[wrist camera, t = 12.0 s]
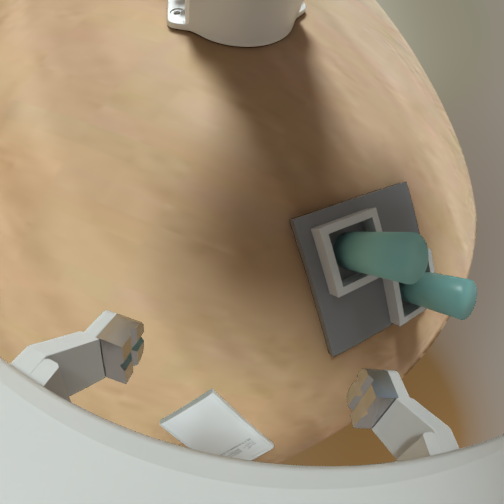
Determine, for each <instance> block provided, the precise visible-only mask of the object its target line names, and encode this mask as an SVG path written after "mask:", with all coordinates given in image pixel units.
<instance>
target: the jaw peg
mask: <svg viewBox="0 0 504 504" xmlns="http://www.w3.org/2000/svg"><path fill="white" fill-rule="evenodd" d="M333 251H334V255H335V258H336V262H337V264H338V265H339V266H340V267H342V268H344V269H348V270H352V271H356V272H360V273H364V274H368V275H372V276H376V277H380V278H384V279H388V280H392V281H396V282H400V283H404V284H409V285H410V284H414V283H416V282H418V281H419V280H420V279H421V278H422V276H423V275H424V273H425V271H426V268H427V265H428V258H429V254H428V247H427V244H426V242H425V240H424V239H423V237H422V236H421V235H420V234H418V233H415V232H344V233H342V234H340V235H339V236H338V237H337V239H336V240H335V242H334V245H333Z"/></svg>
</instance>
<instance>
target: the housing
mask: <svg viewBox="0 0 504 504" xmlns="http://www.w3.org/2000/svg"><path fill="white" fill-rule="evenodd" d="M290 224H291V227H292V230H293V233H294V236H295V239H296V242H297V245H298V248H299V251H300V255H301V258H302V261H303V264H304V267H305V271H306V274H307V277H308V281H309V284H310V287H311V291H312V294H313V297H314V301H315V304H316V308H317V311H318V315H319V318H320V322H321V325H322V329H323V333H324V336H325V340H326V344H327V347H328V351H329V353H330V354H331V355H332V356H333V357H334V356H336V355H338V354H340V353H342V352H344V351H346V350H348V349H350V348H351V347H353V346H355V345H357V344H359V343H361V342H363V341H364V340H366V339H368V338H370V337H371V336H373V335H375V334H377V333H378V332H380V331H382V330H383V329H385V328H387V327H388V326H390V325H392V324H393V323H394V324H396V325H398V326H402V325H403V324H405V323H406V322H408V321H409V320H411V319H412V318H414V317H415V316H417V315H418V314H420V313H421V312H423V311H424V310H426V309H430V310H433V311H436V312H439V313H443V314H446V315H449V316H452V317H455V318H458V319H461V320H464V319H466V318H467V317H468V316H469V315H470V314H471V312H472V311H473V309H474V306H475V303H476V297H477V289H476V285H475V282H474V281H473V280H470V279H464V278H459V277H454V276H448V275H443V274H437V273H435V272H434V265H433V259H432V253H431V249H429V248H428V254H429V258H428V265H427V268H426V271H425V273H424V275H423V276H422V278H421V279H420V280H419V281H418V282H416V283H414V284H410V285H409V284H404V283H400V282H396V281H392V280H388V279H384V278H380V277H376V276H372V275H368V274H364V273H360V272H356V271H352V270H348V269H344V268H342V267H340V266H339V265H338V264H337V262H336V258H335V255H334V251H333V245H334V242H335V240H336V239H337V237H338V236H339V235H340V234H342V233H344V232H415V233H418V234H420V233H419V229H418V224H417V220H416V216H415V212H414V208H413V204H412V200H411V196H410V193H409V189H408V186H407V182H402V183H398V184H395V185H392V186H389V187H386V188H383V189H380V190H377V191H374V192H371V193H368V194H365V195H362V196H359V197H356V198H353V199H350V200H347V201H344V202H341V203H338V204H335V205H332V206H329V207H326V208H323V209H320V210H317V211H314V212H311V213H308V214H305V215H302V216H299V217H297V218H294V219H291V220H290Z"/></svg>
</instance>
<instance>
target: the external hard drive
mask: <svg viewBox="0 0 504 504" xmlns="http://www.w3.org/2000/svg"><path fill="white" fill-rule="evenodd" d="M160 425H161V426H162V427H163V428H164V429H165V430H167V431H168V432H169V433H170V434H172V435H173V436H174V437H175V438H177V439H178V440H179V441H180V442H182V443H183V444H184V445H186V446H187V447H188V448H191V449H195V450H199V451H203V452H207V453H212V454H217V455H221V456H227V457H232V458H238V459H244V460H251V461H252V460H254V459H256V458H257V457H259V456H261V455H263V454H264V453H266V452H268V451H270V450H271V449H272V448H273V447H274V444H273V442H271V441H270V440H269V439H268V438H267V437H265V436H264V435H263V434H262V433H261V432H260V431H258V430H257V429H256V428H255V427H254V426H253V425H251V424H250V423H249V422H248V421H247V420H246V419H245V418H243V417H242V416H241V415H240V414H239V413H238V412H237V411H236V410H235V409H234V408H233V407H232V406H230V405H229V404H228V403H227V402H226V401H225V400H224V399H223V398H222V397H221V396H220V395H219V394H218V393H217V392H216V391H215V390H214V389H213V388H212V389H211V390H209V391H207V392H206V393H204V394H203V395H201V396H200V397H198V398H197V399H195V400H193V401H192V402H190V403H189V404H187V405H185V406H184V407H182V408H180V409H179V410H177V411H175V412H174V413H172V414H170V415H169V416H167V417H165V418H163V419H162V420H160Z"/></svg>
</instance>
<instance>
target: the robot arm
mask: <svg viewBox="0 0 504 504" xmlns="http://www.w3.org/2000/svg"><path fill="white" fill-rule="evenodd" d="M303 1H304V0H168V1H167V25H168V26H169V27H171V28H175V29H181V30H188V31H192V32H194V33H196V34H198V35H200V36H202V37H204V38H206V39H208V40H211V41H214V42H217V43H221V44H225V45H230V46H239V47H255V46H263V45H268V44H272V43H275V42H277V41H279V40H281V39H283V38H284V37H286V36H287V35H288V34H289V33H290V31H291V30H292V28H293V25H294V22H295V20H296V18H297V17H299V16H301V15H302V14H303V13H304V12H305V9H306V5H305V4H304V2H303ZM176 14H178V15H176ZM143 332H144V324H143V323H142V322H140V321H137V320H134V319H131V318H128V317H126V316H123V315H120V314H117V313H114V312H112V311H109V310H105V311H104V312H103V313H102V314H101V315H100V316H99V317H98V318H97V319H96V320H95V321H94V322H93V323H92V324H91V325H90V326H89V327H88V328H87V329H86V330H85V332H81V331H79V332H76V333H72V334H69V335H65V336H62V337H58V338H54V339H51V340H47V341H43V342H40V343H36V344H32V345H28V346H27V347H26V348H25V349H24V350H23V351H22V352H21V353H20V354H19V355H18V356H17V357H16V358H15V359H14V360H13V361H12V362H11V363H10V364H9V363H8V362H6V361H5V360H4V359H2V358H1V357H0V504H504V434H503V435H500V436H498V437H495V438H492V439H489V440H486V441H484V442H481V443H478V444H475V445H471V446H468V447H465V448H461V449H459V446H458V444H457V442H456V440H455V438H454V435H453V433H452V431H451V429H450V427H448V426H447V425H446V424H444V423H443V422H442V421H440V420H439V419H438V418H437V417H436V416H434V415H433V414H432V413H431V412H429V411H428V410H427V409H425V408H424V407H423V406H422V405H421V404H419V403H418V402H417V401H416V400H414V399H413V398H410V397H409V395H408V393H407V391H406V388H405V386H404V384H403V382H402V380H401V378H400V376H399V373H398V372H397V371H396V370H375V369H362V370H361V371H360V372H359V373H358V375H357V378H358V380H357V381H356V382H354V383H353V384H352V385H351V387H350V388H349V390H348V394H347V404H348V407H349V408H350V409H351V410H352V413H351V414H350V417H351V421H352V425H353V428H372V430H373V432H374V433H375V434H376V435H377V436H378V438H379V439H380V440H381V441H382V442H383V444H384V445H385V446H386V447H387V448H388V450H389V451H390V452H391V453H392V455H393V456H394V457H395V458H396V461H394V462H390V463H381V464H369V465H354V466H303V465H287V464H275V463H266V462H258V461H251V460H244V459H238V458H232V457H227V456H221V455H217V454H212V453H207V452H203V451H199V450H195V449H191V448H187V447H183V446H180V445H176V444H173V443H169V442H166V441H163V440H160V439H156V438H153V437H150V436H148V435H145V434H142V433H139V432H136V431H134V430H131V429H128V428H126V427H123V426H121V425H118V424H116V423H114V422H111V421H109V420H107V419H104V418H102V417H100V416H98V415H95V414H93V413H91V412H89V411H87V410H85V409H83V408H81V407H79V406H77V405H75V404H73V403H71V401H70V398H69V396H71V395H73V394H75V393H77V392H79V391H81V390H83V389H85V388H87V387H89V386H91V385H92V384H94V383H96V382H98V381H100V380H102V379H104V378H105V376H106V377H108V378H111V379H113V380H116V381H119V382H122V383H124V384H127V382H128V380H129V378H130V377H131V375H132V373H133V366H135V365H137V364H138V363H139V361H140V359H141V357H142V354H143V349H144V340H143V339H142V337H141V335H142V334H143Z"/></svg>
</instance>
